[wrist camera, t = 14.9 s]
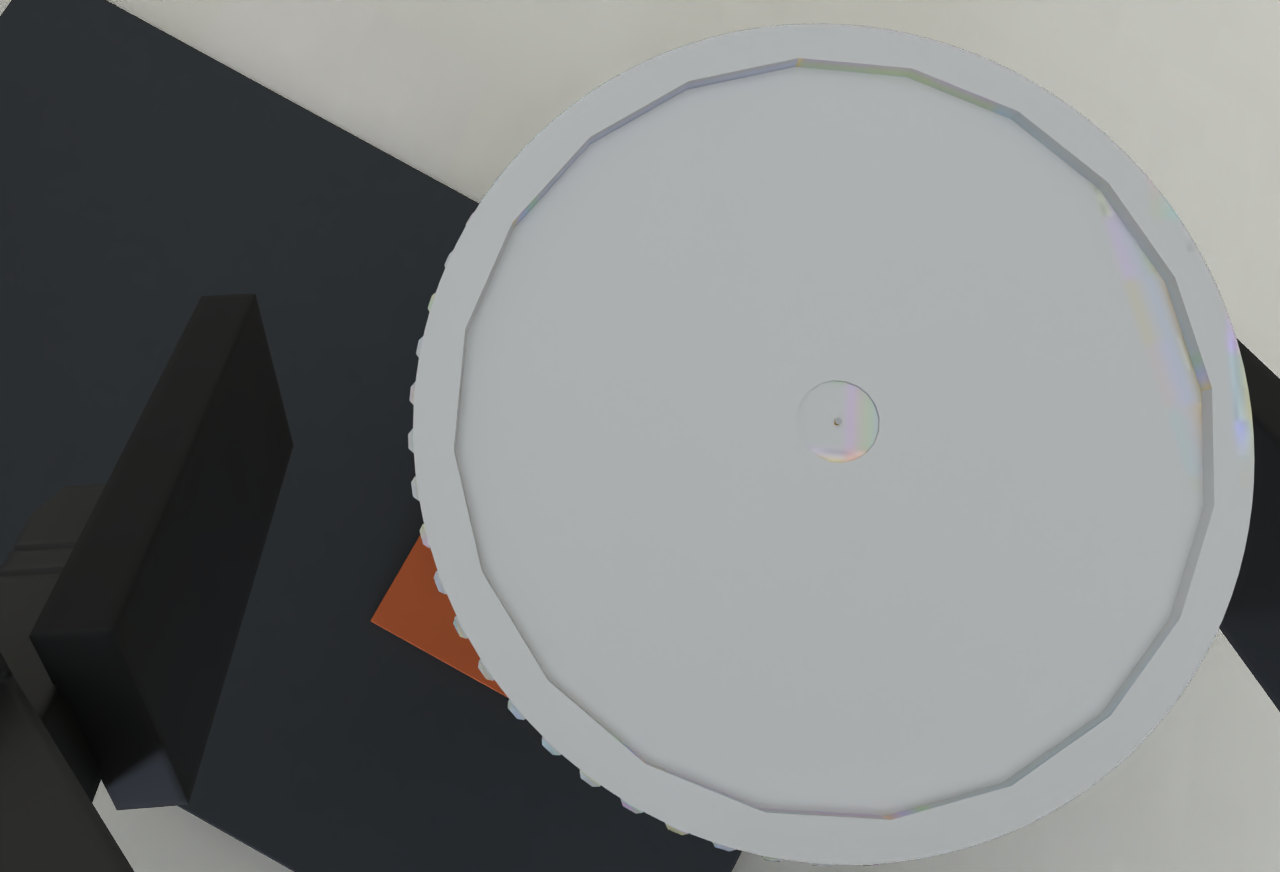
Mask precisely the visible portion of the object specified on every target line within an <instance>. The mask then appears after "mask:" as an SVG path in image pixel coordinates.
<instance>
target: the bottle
mask: <svg viewBox="0 0 1280 872" xmlns="http://www.w3.org/2000/svg"><path fill="white" fill-rule="evenodd" d="M444 266H445V270H444V273H443V275H442V278H441V280H440V282H439V285H438V288H437V291H436V293H434V294H433V295H432V297H431V300H430V303H429V306H428V310H429V312H430V313H429V316H428V320H427V324H426V327H425V331H424V336H423V337H422V338H421V339H420V340H419V341H418V346H417V351H416V354H417V356H418V357H419V362H418V368H417V375H416V382H415V383H414V384H413V385H412V386H411V389H410V402H411V403H412V404H413V405H414V414H413V429H412V430H411V431H410V433H409V434H408V448H409V449H410V450H411V451H412V452H413V453H414V460H415V473H416V477H414V479H413V480H412V482H411V486H412V493H413V497H414V498H416V499H417V500H418V501H420V506H421V511H422V516H423V521H424V524H422V527H421V529H420V535H421V538H422V542H423V545H425V546H426V547H428V548H431V551H432V554H433V557H434V561H435V564H436V567H437V570H438V571H436V573H435V575H434V580H435V583H436V586H437V588H438V591H439V592H441V593H443V594H447V595H448V598H449V600H450V602H451V604H452V607H453V609H454V611H455V613H456V617H455V618H454V622H453V624H454V626H455V628H456V630H457V632H458V634H459V636H460V637H463V638H465V639H467V638H469V640H470V642H471V644H472V645H473V647H474V649H475V650H476V652H477V654H478V655H479V657H480V660H479V663H478V668H479V670H480V671H481V673H482V674H483V675H484V677H485V678H486V679H487V680H491V681H493V680H495V681H496V682H497V684H498V685H499V686H500V688H501V689H502V690H503V691H504V693H505V694H506V695H507V697H508V698H509V701H508V709H509V710H510V711H511V712H512V713H513V715H514V716H515V717H516V718H517V719H521V720H525V719H527V720H528V721H529V723H530V724H531V725H532V726H533V727H534V728H535V729H536V730H537V731H538V732H539V733H540V734H541V735H542V745H543V746H544V747H545V748H546V749H547V750H548V751H549V752H550V753H551V754H552V755H561V754H562V755H563V756H564V757H566V758H567V759H568V760H569V761H570V762H572V763H573V764H574V765H575V766H576V767H578V768H579V769H580V777H581V779H583V780H584V781H585V782H587V783H588V784H589V785H591V786H592V787H599V786H600V785H601V786H603V787H604V788H606V789H607V790H609V791H610V792H612V793H613V794H615V795H616V796H618V797H620V798H621V802H622V805H623V806H624V807H625V808H627V809H629V810H631V811H632V812H634V813H636V814H637V813H643V812H645V813H647V814H649V815H651V816H653V817H655V818H657V819H659V820H661V821H663V822H665V824H666V826H667V829H668V830H671V831H673V832H675V833H678V834H680V835H685V834H689V833H690V834H692V835H695V836H698V837H700V838H703V839H706V840H709V841H711V842H712V843H713V844H714V846H715V847H716V848H720V849H723V850H726V851H733V850H736V849H737V850H741V851H745V852H749V853H753V854H758V855H761V856H762V857H763V859H765V860H771V861H777V862H780V861H782V860H790V861H798V862H807V863H812V864H813V866H830V865H832V864H836V865H863V866H869V865H879V864H882V863H894V862H902V861H909V860H917V859H922V858H927V857H932V856H937V855H942V854H946V853H950V852H954V851H958V850H962V849H966V848H969V847H972V846H975V845H978V844H981V843H984V842H987V841H990V840H993V839H995V838H998V837H1000V836H1003V835H1005V834H1008V833H1010V832H1013V831H1015V830H1017V829H1019V828H1021V827H1024V826H1026V825H1028V824H1030V823H1032V822H1034V821H1036V820H1038V819H1040V818H1042V817H1044V816H1045V815H1047V814H1049V813H1051V812H1053V811H1055V810H1056V809H1058V808H1060V807H1061V806H1063V805H1064V804H1066V803H1068V802H1069V801H1071V800H1072V799H1074V798H1076V797H1077V796H1078V795H1080V794H1081V793H1083V792H1084V791H1086V790H1087V789H1088V788H1090V787H1091V786H1093V785H1094V784H1095V783H1097V782H1098V781H1099V780H1100V779H1102V778H1103V777H1104V776H1105V775H1107V774H1108V773H1109V772H1110V771H1112V770H1113V769H1114V768H1115V767H1116V766H1117V765H1118V764H1120V763H1121V762H1122V761H1123V760H1124V759H1125V758H1126V757H1127V756H1128V755H1130V754H1131V753H1132V752H1133V751H1134V750H1135V749H1136V748H1137V747H1138V746H1139V745H1140V744H1141V742H1142V741H1143V740H1144V739H1145V738H1146V737H1147V736H1148V735H1149V734H1150V733H1151V732H1152V731H1153V730H1154V728H1155V727H1156V726H1157V725H1158V724H1159V723H1160V721H1161V720H1162V719H1163V718H1164V717H1165V715H1166V714H1167V713H1168V712H1169V710H1170V709H1171V708H1172V706H1173V705H1174V704H1175V702H1176V701H1177V700H1178V698H1179V697H1180V695H1181V694H1182V693H1183V691H1184V690H1185V688H1186V687H1187V685H1188V684H1189V682H1190V681H1191V679H1192V678H1193V676H1194V674H1195V672H1196V671H1197V669H1198V667H1199V666H1200V664H1201V662H1202V661H1203V659H1204V657H1205V655H1206V653H1207V651H1208V649H1209V647H1210V645H1211V644H1212V642H1213V640H1214V638H1215V635H1216V633H1217V631H1218V629H1219V626H1220V624H1221V622H1222V620H1223V617H1224V615H1225V612H1226V610H1227V607H1228V604H1229V602H1230V599H1231V596H1232V593H1233V590H1234V587H1235V584H1236V581H1237V578H1238V574H1239V571H1240V567H1241V563H1242V559H1243V555H1244V551H1245V546H1246V541H1247V535H1248V530H1249V524H1250V516H1251V509H1252V499H1253V487H1254V433H1253V422H1252V411H1251V404H1250V397H1249V390H1248V385H1247V380H1246V375H1245V370H1244V365H1243V361H1242V357H1241V353H1240V349H1239V345H1238V342H1237V339H1236V336H1235V332H1234V329H1233V326H1232V323H1231V320H1230V317H1229V315H1228V312H1227V309H1226V307H1225V304H1224V301H1223V299H1222V297H1221V294H1220V292H1219V290H1218V287H1217V285H1216V283H1215V280H1214V278H1213V276H1212V274H1211V272H1210V270H1209V268H1208V266H1207V264H1206V262H1205V260H1204V258H1203V256H1202V255H1201V253H1200V251H1199V249H1198V247H1197V246H1196V244H1195V242H1194V240H1193V239H1192V237H1191V236H1190V234H1189V232H1188V231H1187V229H1186V228H1185V226H1184V224H1183V223H1182V221H1181V220H1180V218H1179V217H1178V215H1177V214H1176V213H1175V211H1174V210H1173V208H1172V207H1171V206H1170V204H1169V203H1168V201H1167V200H1166V199H1165V197H1164V196H1163V195H1162V194H1161V192H1160V191H1159V190H1158V189H1157V187H1156V186H1155V185H1154V184H1153V182H1152V181H1151V180H1150V179H1149V178H1148V177H1147V175H1146V174H1145V173H1144V172H1143V171H1142V170H1141V169H1140V167H1139V166H1138V165H1137V164H1136V163H1135V162H1134V161H1133V160H1132V159H1131V158H1130V157H1129V156H1128V155H1127V154H1126V153H1125V152H1124V151H1123V150H1122V149H1121V148H1120V147H1119V146H1118V145H1117V144H1116V143H1115V142H1114V141H1113V140H1112V139H1110V138H1109V137H1108V136H1107V135H1106V134H1105V133H1104V132H1103V131H1101V130H1100V129H1099V128H1098V127H1097V126H1096V125H1094V124H1093V123H1092V122H1091V121H1090V120H1088V119H1087V118H1086V117H1084V116H1083V115H1082V114H1080V113H1079V112H1078V111H1077V110H1075V109H1074V108H1073V107H1071V106H1070V105H1068V104H1067V103H1065V102H1064V101H1063V100H1061V99H1060V98H1058V97H1057V96H1055V95H1054V94H1052V93H1051V92H1049V91H1047V90H1046V89H1044V88H1042V87H1041V86H1039V85H1038V84H1036V83H1034V82H1033V81H1031V80H1029V79H1027V78H1025V77H1023V76H1022V75H1020V74H1018V73H1016V72H1014V71H1012V70H1010V69H1008V68H1006V67H1004V66H1002V65H1000V64H998V63H996V62H993V61H991V60H989V59H986V58H984V57H981V56H979V55H977V54H974V53H972V52H969V51H966V50H963V49H961V48H958V47H955V46H952V45H949V44H946V43H942V42H939V41H936V40H933V39H929V38H925V37H921V36H917V35H913V34H909V33H903V32H898V31H893V30H888V29H881V28H874V27H867V26H856V25H845V24H791V25H777V26H769V27H761V28H754V29H748V30H742V31H737V32H732V33H727V34H723V35H719V36H715V37H711V38H707V39H704V40H700V41H697V42H694V43H690V44H687V45H685V46H682V47H679V48H676V49H673V50H670V51H668V52H666V53H663V54H661V55H658V56H656V57H654V58H651V59H649V60H647V61H645V62H643V63H641V64H638V65H636V66H634V67H632V68H630V69H628V70H626V71H625V72H623V73H621V74H619V75H617V76H616V77H614V78H612V79H610V80H609V81H607V82H605V83H604V84H602V85H601V86H599V87H597V88H596V89H594V90H593V91H591V92H590V93H588V94H587V95H585V96H584V97H583V98H581V99H580V100H578V101H577V102H575V103H574V104H573V105H571V106H570V107H569V108H568V109H566V110H565V111H564V112H563V113H561V114H560V115H559V116H558V117H556V118H555V119H554V120H553V121H552V122H551V123H550V124H548V125H547V126H546V127H545V128H544V129H543V130H542V131H541V132H539V133H538V134H537V135H536V136H535V137H534V138H533V139H532V140H531V141H530V142H529V143H528V144H527V145H526V146H525V147H524V148H523V149H522V150H521V152H520V153H519V154H518V155H517V156H516V157H515V158H514V159H513V161H512V162H511V163H510V164H509V165H508V166H507V167H506V169H505V170H504V171H503V172H502V174H501V175H500V176H499V177H498V179H497V180H496V181H495V182H494V184H493V185H492V186H491V188H490V189H489V191H488V192H487V194H486V195H485V197H484V198H483V199H482V201H481V202H480V204H479V205H478V207H477V209H476V210H475V212H474V213H472V215H471V216H470V218H469V220H468V221H467V223H466V227H465V229H464V231H463V232H462V234H461V236H460V238H459V240H458V242H457V244H456V246H455V248H454V250H453V251H452V252H451V253H450V254H449V256H448V258H447V260H446V262H445V265H444Z"/></svg>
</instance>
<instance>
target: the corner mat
mask: <svg viewBox="0 0 1280 872" xmlns="http://www.w3.org/2000/svg"><path fill="white" fill-rule="evenodd" d="M478 205H479V203H477V202H475V201H473V200H471V199H469V198H468V197H466V196H464V195H462V194H460V193H458V192H457V191H455V190H453V189H451V188H449V187H447V186H446V185H444V184H442V183H440V182H438V181H436V180H435V179H433V178H431V177H429V176H427V175H425V174H424V173H422V172H420V171H418V170H416V169H414V168H413V167H411V166H409V165H407V164H405V163H403V162H402V161H400V160H398V159H396V158H394V157H392V156H391V155H389V154H387V153H385V152H383V151H381V150H380V149H378V148H376V147H374V146H372V145H370V144H369V143H367V142H365V141H363V140H361V139H359V138H358V137H356V136H354V135H352V134H350V133H348V132H347V131H345V130H343V129H341V128H339V127H337V126H336V125H334V124H332V123H330V122H328V121H326V120H325V119H323V118H321V117H319V116H317V115H315V114H314V113H312V112H310V111H308V110H306V109H304V108H303V107H301V106H299V105H297V104H295V103H293V102H292V101H290V100H288V99H286V98H284V97H282V96H281V95H279V94H277V93H275V92H273V91H271V90H270V89H268V88H266V87H264V86H262V85H260V84H259V83H257V82H255V81H253V80H251V79H249V78H248V77H246V76H244V75H242V74H240V73H238V72H237V71H235V70H233V69H231V68H229V67H227V66H225V65H224V64H222V63H220V62H218V61H216V60H214V59H213V58H211V57H209V56H207V55H205V54H203V53H202V52H200V51H198V50H196V49H194V48H192V47H191V46H189V45H187V44H185V43H183V42H181V41H180V40H178V39H176V38H174V37H172V36H170V35H169V34H167V33H165V32H163V31H161V30H159V29H158V28H156V27H154V26H152V25H150V24H148V23H147V22H145V21H143V20H141V19H139V18H137V17H136V16H134V15H132V14H130V13H128V12H126V11H125V10H123V9H121V8H119V7H117V6H115V5H114V4H112V3H110V2H108V1H106V0H12V1H11V2H10V3H9V5H8V6H7V8H6V9H5V10H4V12H3V13H2V15H1V16H0V568H1V566H2V564H3V562H4V561H5V559H6V557H7V555H8V554H9V552H13V551H14V547H13V545H14V543H15V542H16V540H17V538H18V536H19V535H20V533H21V531H22V529H23V528H24V526H25V524H26V522H27V521H28V519H29V517H30V516H31V514H32V513H33V512H35V511H36V510H37V509H38V508H39V507H40V506H42V505H43V504H44V503H45V502H46V501H48V500H49V499H50V498H51V497H52V496H53V495H55V494H56V493H57V492H58V491H59V490H60V489H62V488H63V487H64V486H77V485H93V484H106V483H107V481H108V479H109V477H110V475H111V473H112V471H113V469H114V467H115V465H116V463H117V462H118V460H119V458H120V456H121V454H122V452H123V450H124V448H125V446H126V444H127V442H128V440H129V438H130V436H131V434H132V432H133V430H134V428H135V426H136V424H137V422H138V420H139V418H140V416H141V414H142V412H143V410H144V408H145V406H146V404H147V402H148V400H149V398H150V396H151V394H152V392H153V391H154V389H155V387H156V385H157V383H158V381H159V379H160V377H161V375H162V373H163V371H164V369H165V367H166V365H167V363H168V361H169V359H170V357H171V355H172V353H173V351H174V349H175V347H176V345H177V343H178V341H179V339H180V337H181V335H182V333H183V331H184V329H185V327H186V325H187V323H188V321H189V319H190V318H191V316H192V314H193V312H194V310H195V308H196V306H197V304H198V302H199V300H200V298H201V296H212V295H233V294H254V293H255V294H256V298H257V302H258V306H259V310H260V314H261V318H262V322H263V326H264V330H265V334H266V338H267V342H268V346H269V350H270V354H271V357H272V361H273V365H274V369H275V373H276V377H277V381H278V385H279V389H280V393H281V397H282V401H283V405H284V409H285V413H286V417H287V421H288V425H289V429H290V433H291V437H292V441H293V449H292V452H291V455H290V459H289V462H288V466H287V469H286V473H285V476H284V479H283V483H282V486H281V490H280V493H279V497H278V500H277V503H276V507H275V510H274V514H273V517H272V521H271V524H270V527H269V531H268V534H267V538H266V541H265V544H264V548H263V551H262V555H261V558H260V562H259V565H258V568H257V572H256V575H255V579H254V582H253V586H252V589H251V592H250V596H249V599H248V603H247V606H246V609H245V613H244V616H243V620H242V623H241V627H240V630H239V633H238V637H237V640H236V644H235V647H234V651H233V654H232V657H231V661H230V664H229V668H228V671H227V674H226V678H225V681H224V685H223V688H222V692H221V695H220V698H219V702H218V705H217V709H216V712H215V716H214V719H213V722H212V726H211V729H210V733H209V736H208V739H207V743H206V746H205V750H204V753H203V757H202V760H201V763H200V767H199V770H198V774H197V777H196V781H195V784H194V787H193V791H192V794H191V798H190V801H189V804H188V805H177V806H179V807H181V808H182V809H184V810H186V811H188V812H190V813H191V814H193V815H195V816H197V817H198V818H200V819H202V820H204V821H205V822H207V823H209V824H211V825H213V826H214V827H216V828H218V829H220V830H221V831H223V832H225V833H227V834H229V835H230V836H232V837H234V838H236V839H237V840H239V841H241V842H243V843H244V844H246V845H248V846H250V847H252V848H253V849H255V850H257V851H259V852H260V853H262V854H264V855H266V856H268V857H269V858H271V859H273V860H275V861H276V862H278V863H280V864H282V865H283V866H285V867H287V868H289V869H291V870H292V871H294V872H732V870H733V868H734V866H735V864H736V862H737V860H738V858H739V856H740V854H741V852H742V851H741V850H737V849H736V850H733V851H726V850H723V849H720V848H716V847H715V846H714V844H713V843H712V842H711V841H709V840H706V839H703V838H700V837H698V836H695V835H692V834H690V833H689V834H685V835H680V834H678V833H675V832H673V831H671V830H668V829H667V826H666V824H665V822H663V821H661V820H659V819H657V818H655V817H653V816H651V815H649V814H647V813H645V812H643V813H637V814H636V813H634V812H632V811H631V810H629V809H627V808H625V807H624V806H623V805H622V802H621V798H620V797H618V796H616V795H615V794H613V793H612V792H610V791H609V790H607V789H606V788H604V787H603V786H601V785H600V786H599V787H592V786H591V785H589V784H588V783H587V782H585V781H584V780H583V779H581V777H580V769H579V768H578V767H576V766H575V765H574V764H573V763H572V762H570V761H569V760H568V759H567V758H566V757H564V756H563V755H562V754H561V755H552V754H551V753H550V752H549V751H548V750H547V749H546V748H545V747H544V746H543V745H542V735H541V734H540V733H539V732H538V731H537V730H536V729H535V728H534V727H533V726H532V725H531V724H530V723H529V721H528V720H527V719H525V720H521V719H517V718H516V717H515V716H514V715H513V713H512V712H511V711H510V710H509V709H508V701H509V698H508V697H507V695H506V694H505V693H504V691H503V690H502V689H501V688H500V686H499V685H498V684H497V682H496V681H495V680H493V681H491V680H487V679H486V678H485V677H484V675H483V674H482V673H481V671H480V670H479V668H478V663H479V660H480V657H479V655H478V654H477V652H476V650H475V649H474V647H473V645H472V644H471V642H470V640H469V638H467V639H465V638H463V637H460V636H459V634H458V632H457V630H456V628H455V626H454V624H453V622H454V618H455V617H456V613H455V611H454V609H453V607H452V604H451V602H450V600H449V598H448V595H447V594H443V593H441V592H439V591H438V588H437V586H436V583H435V580H434V575H435V573H436V571H438V570H437V567H436V564H435V561H434V557H433V554H432V551H431V548H428V547H426V546H425V545H423V542H422V538H421V535H420V529H421V527H422V524H424V521H423V516H422V511H421V506H420V501H418V500H417V499H416V498H414V497H413V493H412V486H411V482H412V480H413V479H414V477H416V473H415V460H414V453H413V452H412V451H411V450H410V449H409V448H408V434H409V433H410V431H411V430H412V429H413V414H414V405H413V404H412V403H411V402H410V389H411V386H412V385H413V384H414V383H415V382H416V375H417V368H418V362H419V357H418V356H417V354H416V351H417V346H418V341H419V340H420V339H421V338H422V337H423V336H424V331H425V327H426V324H427V320H428V316H429V313H430V312H429V310H428V306H429V303H430V300H431V297H432V295H433V294H434V293H436V291H437V288H438V285H439V282H440V280H441V278H442V275H443V273H444V270H445V266H444V265H445V262H446V260H447V258H448V256H449V254H450V253H451V252H452V251H453V250H454V248H455V246H456V244H457V242H458V240H459V238H460V236H461V234H462V232H463V231H464V229H465V227H466V223H467V221H468V220H469V218H470V216H471V215H472V213H474V212H475V210H476V209H477V207H478Z"/></svg>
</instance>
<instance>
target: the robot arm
mask: <svg viewBox="0 0 1280 872" xmlns="http://www.w3.org/2000/svg"><path fill="white" fill-rule="evenodd" d="M1236 339H1237V338H1236ZM1237 342H1238V345H1239V349H1240V353H1241V357H1242V361H1243V365H1244V370H1245V375H1246V380H1247V385H1248V390H1249V397H1250V404H1251V411H1252V422H1253V433H1254V487H1253V499H1252V509H1251V516H1250V524H1249V530H1248V535H1247V541H1246V546H1245V551H1244V555H1243V559H1242V563H1241V567H1240V571H1239V574H1238V578H1237V581H1236V584H1235V587H1234V590H1233V593H1232V596H1231V599H1230V602H1229V604H1228V607H1227V610H1226V612H1225V615H1224V617H1223V620H1222V622H1221V624H1220V626H1219V628H1220V630H1221V631H1222V633H1223V634H1224V635H1225V637H1226V638H1227V639H1228V641H1229V642H1230V644H1231V645H1232V646H1233V648H1234V649H1235V650H1236V652H1237V653H1238V655H1239V656H1240V657H1241V659H1242V660H1243V662H1244V663H1245V664H1246V666H1247V667H1248V668H1249V670H1250V671H1251V673H1252V674H1253V675H1254V677H1255V678H1256V680H1257V681H1258V682H1259V684H1260V685H1261V686H1262V688H1263V689H1264V691H1265V692H1266V693H1267V695H1268V696H1269V697H1270V699H1271V700H1272V702H1273V703H1274V704H1275V706H1276V707H1277V709H1278V710H1279V711H1280V379H1279V378H1278V377H1277V376H1276V375H1275V374H1274V373H1273V372H1272V371H1271V370H1270V369H1269V368H1268V367H1266V366H1265V365H1264V364H1263V363H1262V362H1261V361H1260V360H1259V359H1258V358H1257V357H1256V356H1255V355H1254V354H1253V353H1252V352H1251V351H1250V350H1248V349H1247V348H1246V347H1245V346H1244V345H1243V344H1242V343H1241V342H1240V341H1239V340H1238V339H1237ZM292 449H293V441H292V437H291V433H290V429H289V425H288V421H287V417H286V413H285V409H284V405H283V401H282V397H281V393H280V389H279V385H278V381H277V377H276V373H275V369H274V365H273V361H272V357H271V354H270V350H269V346H268V342H267V338H266V334H265V330H264V326H263V322H262V318H261V314H260V310H259V306H258V302H257V298H256V294H255V293H254V294H233V295H212V296H201V298H200V300H199V302H198V304H197V306H196V308H195V310H194V312H193V314H192V316H191V318H190V319H189V321H188V323H187V325H186V327H185V329H184V331H183V333H182V335H181V337H180V339H179V341H178V343H177V345H176V347H175V349H174V351H173V353H172V355H171V357H170V359H169V361H168V363H167V365H166V367H165V369H164V371H163V373H162V375H161V377H160V379H159V381H158V383H157V385H156V387H155V389H154V391H153V392H152V394H151V396H150V398H149V400H148V402H147V404H146V406H145V408H144V410H143V412H142V414H141V416H140V418H139V420H138V422H137V424H136V426H135V428H134V430H133V432H132V434H131V436H130V438H129V440H128V442H127V444H126V446H125V448H124V450H123V452H122V454H121V456H120V458H119V460H118V462H117V463H116V465H115V467H114V469H113V471H112V473H111V475H110V477H109V479H108V481H107V483H106V484H93V485H77V486H64V487H63V488H62V489H60V490H59V491H58V492H57V493H56V494H55V495H53V496H52V497H51V498H50V499H49V500H48V501H46V502H45V503H44V504H43V505H42V506H40V507H39V508H38V509H37V510H36V511H35V512H33V513H32V514H31V516H30V517H29V519H28V521H27V522H26V524H25V526H24V528H23V529H22V531H21V533H20V535H19V536H18V538H17V540H16V542H15V543H14V545H13V547H14V551H13V552H9V554H8V555H7V557H6V559H5V561H4V562H3V564H2V566H1V568H0V872H134V871H133V869H132V867H131V866H130V864H129V862H128V861H127V859H126V858H125V856H124V854H123V853H122V851H121V849H120V848H119V846H118V845H117V843H116V841H115V840H114V838H113V836H112V835H111V833H110V832H109V830H108V828H107V827H106V825H105V823H104V822H103V820H102V819H101V817H100V815H99V814H98V812H97V810H96V809H95V807H94V806H93V804H92V802H93V799H94V796H95V794H96V791H97V788H98V786H99V783H100V780H102V782H103V784H104V786H105V788H106V790H107V791H108V793H109V795H110V797H111V799H112V801H113V803H114V805H115V807H116V809H117V810H125V809H138V808H150V807H163V806H175V805H188V804H189V801H190V798H191V794H192V791H193V787H194V784H195V781H196V777H197V774H198V770H199V767H200V763H201V760H202V757H203V753H204V750H205V746H206V743H207V739H208V736H209V733H210V729H211V726H212V722H213V719H214V716H215V712H216V709H217V705H218V702H219V698H220V695H221V692H222V688H223V685H224V681H225V678H226V674H227V671H228V668H229V664H230V661H231V657H232V654H233V651H234V647H235V644H236V640H237V637H238V633H239V630H240V627H241V623H242V620H243V616H244V613H245V609H246V606H247V603H248V599H249V596H250V592H251V589H252V586H253V582H254V579H255V575H256V572H257V568H258V565H259V562H260V558H261V555H262V551H263V548H264V544H265V541H266V538H267V534H268V531H269V527H270V524H271V521H272V517H273V514H274V510H275V507H276V503H277V500H278V497H279V493H280V490H281V486H282V483H283V479H284V476H285V473H286V469H287V466H288V462H289V459H290V455H291V452H292Z"/></svg>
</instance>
